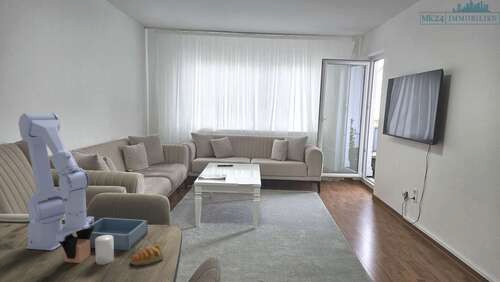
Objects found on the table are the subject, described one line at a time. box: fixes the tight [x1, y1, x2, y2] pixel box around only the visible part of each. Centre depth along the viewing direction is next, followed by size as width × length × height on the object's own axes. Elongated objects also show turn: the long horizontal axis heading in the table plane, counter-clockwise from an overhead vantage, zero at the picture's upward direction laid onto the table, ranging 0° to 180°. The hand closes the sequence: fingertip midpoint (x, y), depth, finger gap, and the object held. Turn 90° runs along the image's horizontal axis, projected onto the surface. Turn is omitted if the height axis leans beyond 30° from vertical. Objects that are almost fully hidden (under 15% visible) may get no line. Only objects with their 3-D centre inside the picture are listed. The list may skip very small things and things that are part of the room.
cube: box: [63, 239, 91, 264], centre depth 93 cm, size 5×5×5 cm
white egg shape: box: [95, 235, 115, 265], centre depth 92 cm, size 5×5×7 cm
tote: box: [89, 217, 149, 251], centre depth 107 cm, size 18×14×5 cm
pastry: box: [129, 244, 165, 266], centre depth 93 cm, size 9×7×4 cm
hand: (77, 253), depth 93 cm, fingers closed on cube, 5 cm apart
